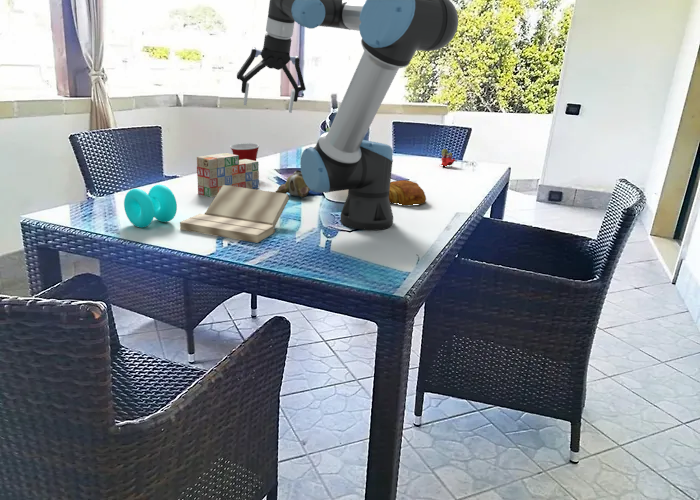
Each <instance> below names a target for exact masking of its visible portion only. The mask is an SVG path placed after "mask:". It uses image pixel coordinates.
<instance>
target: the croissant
mask: <svg viewBox="0 0 700 500" xmlns="http://www.w3.org/2000/svg"><path fill="white" fill-rule="evenodd" d="M425 193H426V192H425V191H424V189H422V188H421V186H420V185H419V184H418V183H417V182H415V181H410V180H407V179H406V180H405V179H403V180H402V179H399V180H395V181H394V180H393V181H390V191H389V200H390V204H393V203H399V204H402V205H413V204H420V205H422V204H424V203H426V200H427V196H426V194H425ZM421 203H422V204H421Z"/></svg>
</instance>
